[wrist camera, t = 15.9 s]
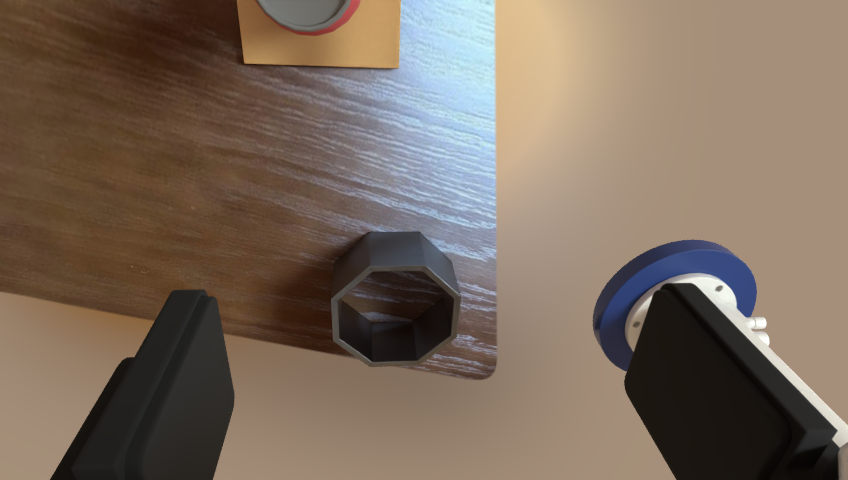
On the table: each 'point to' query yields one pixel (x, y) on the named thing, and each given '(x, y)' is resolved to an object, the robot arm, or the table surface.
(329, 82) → the table surface
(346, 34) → the cork mat
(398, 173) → the table surface
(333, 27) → the beer can
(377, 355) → the black octagonal pot
